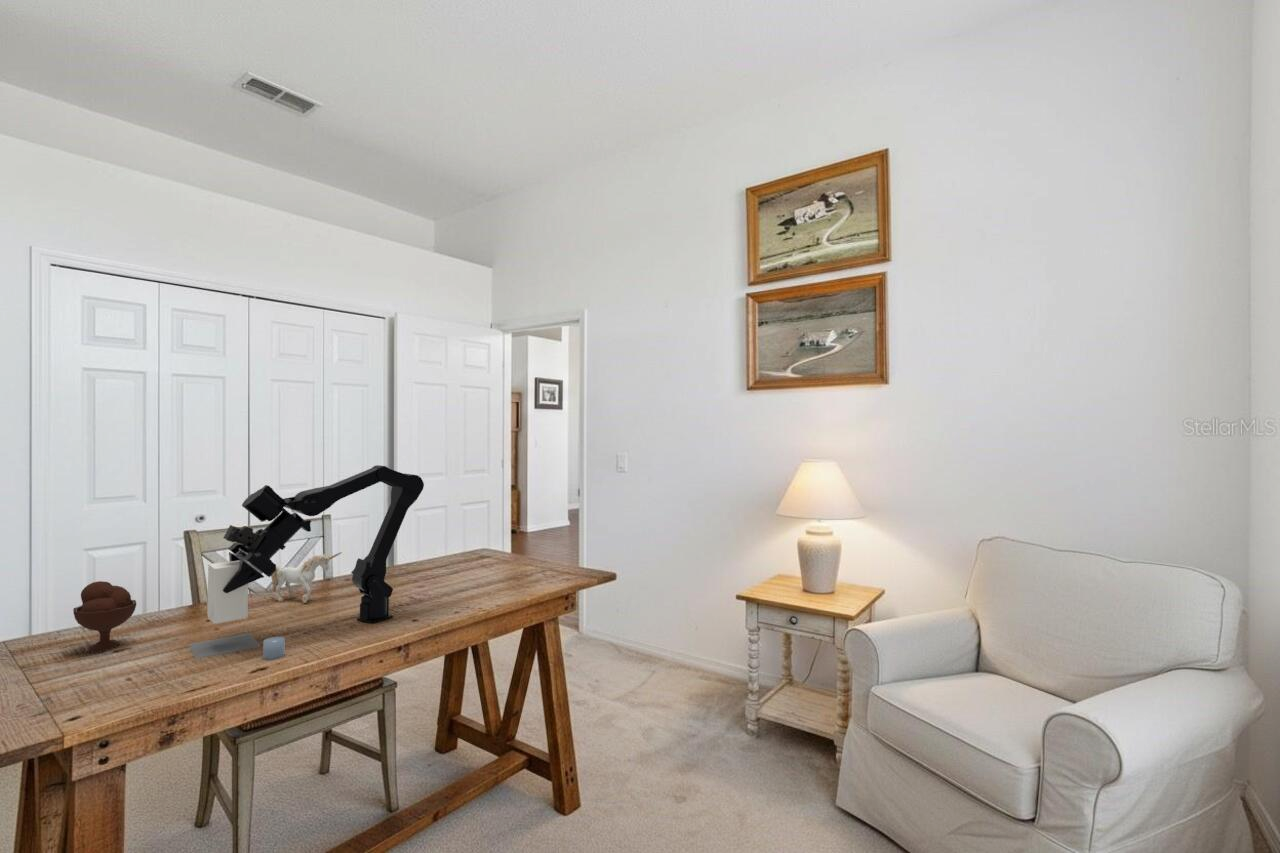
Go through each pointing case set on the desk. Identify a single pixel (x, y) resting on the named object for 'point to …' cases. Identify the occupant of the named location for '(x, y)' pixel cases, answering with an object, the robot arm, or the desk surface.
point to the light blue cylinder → (273, 648)
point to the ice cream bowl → (104, 611)
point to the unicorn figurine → (298, 576)
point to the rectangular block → (225, 594)
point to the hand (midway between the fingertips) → (220, 589)
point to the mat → (223, 645)
